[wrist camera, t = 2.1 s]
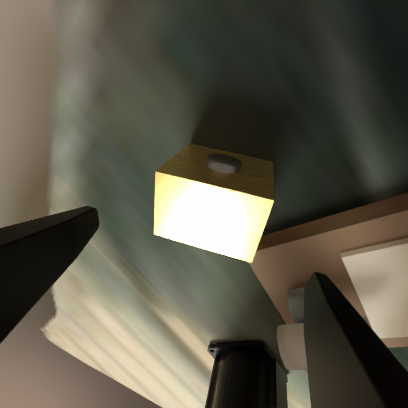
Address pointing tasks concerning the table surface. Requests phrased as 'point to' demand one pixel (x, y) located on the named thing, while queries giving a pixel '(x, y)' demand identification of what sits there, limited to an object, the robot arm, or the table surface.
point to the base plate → (340, 270)
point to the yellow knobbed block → (214, 200)
